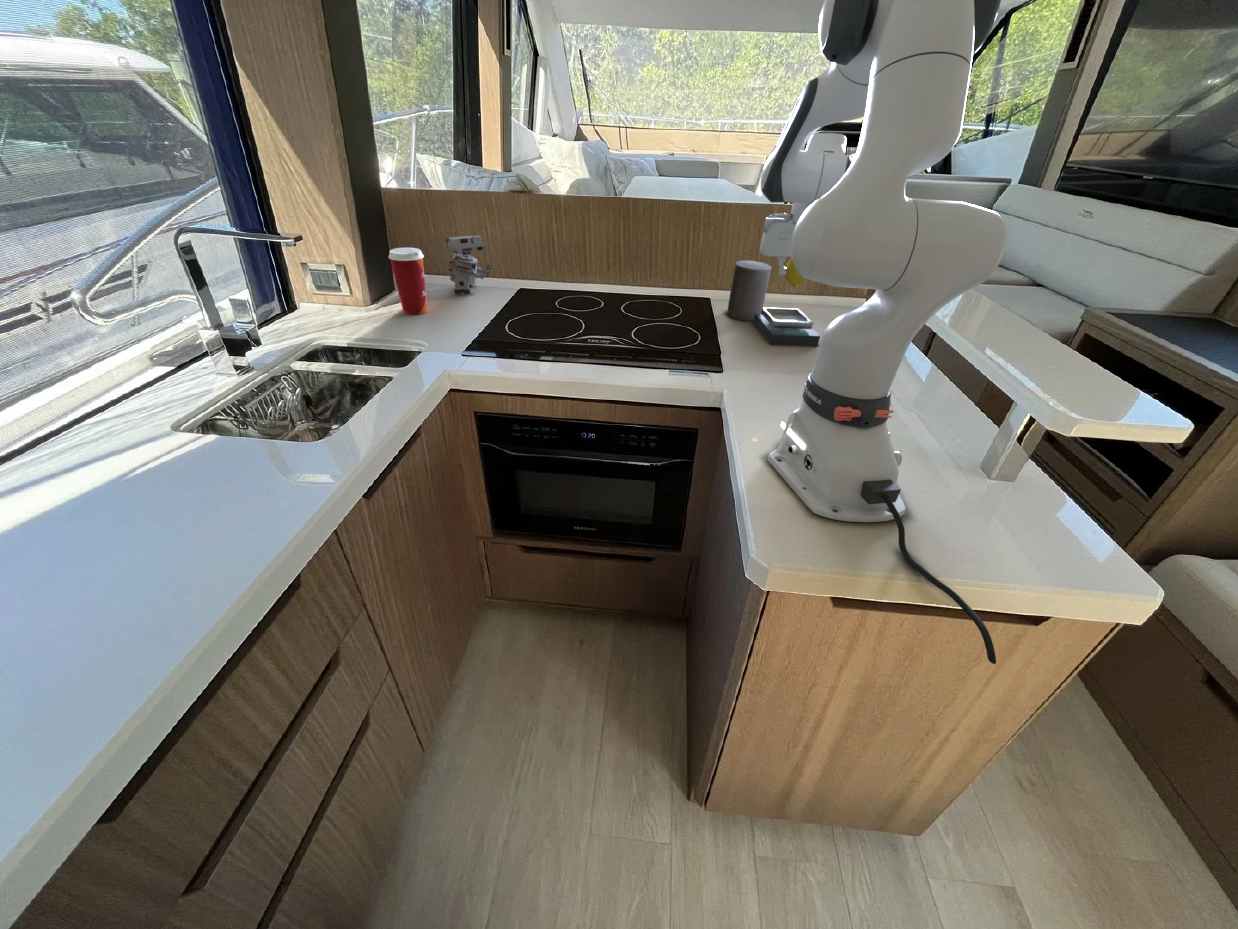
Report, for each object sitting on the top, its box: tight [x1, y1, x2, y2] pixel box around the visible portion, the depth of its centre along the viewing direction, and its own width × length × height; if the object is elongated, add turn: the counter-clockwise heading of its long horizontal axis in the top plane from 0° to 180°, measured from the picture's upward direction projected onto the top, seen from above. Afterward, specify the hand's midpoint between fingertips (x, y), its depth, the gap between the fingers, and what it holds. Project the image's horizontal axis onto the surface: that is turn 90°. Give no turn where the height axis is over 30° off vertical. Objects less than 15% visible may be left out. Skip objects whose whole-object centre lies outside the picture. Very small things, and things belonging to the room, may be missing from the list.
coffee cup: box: [388, 247, 428, 316], centre depth 132 cm, size 8×8×15 cm
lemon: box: [784, 257, 807, 288], centre depth 128 cm, size 6×6×8 cm
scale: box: [752, 314, 821, 347], centre depth 136 cm, size 16×12×3 cm
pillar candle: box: [726, 259, 772, 322], centre depth 143 cm, size 10×10×15 cm
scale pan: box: [761, 307, 814, 329], centre depth 135 cm, size 11×10×2 cm
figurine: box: [445, 234, 492, 296], centre depth 150 cm, size 9×12×15 cm
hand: (796, 275), depth 129 cm, fingers closed on lemon, 5 cm apart
